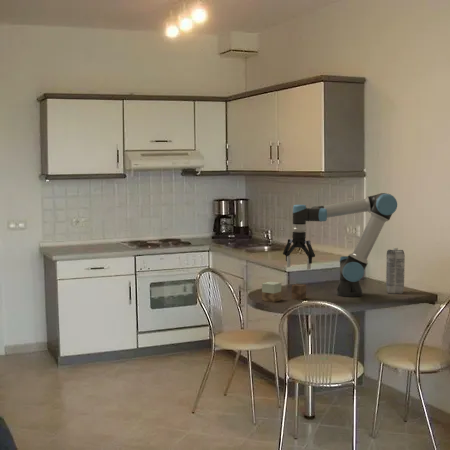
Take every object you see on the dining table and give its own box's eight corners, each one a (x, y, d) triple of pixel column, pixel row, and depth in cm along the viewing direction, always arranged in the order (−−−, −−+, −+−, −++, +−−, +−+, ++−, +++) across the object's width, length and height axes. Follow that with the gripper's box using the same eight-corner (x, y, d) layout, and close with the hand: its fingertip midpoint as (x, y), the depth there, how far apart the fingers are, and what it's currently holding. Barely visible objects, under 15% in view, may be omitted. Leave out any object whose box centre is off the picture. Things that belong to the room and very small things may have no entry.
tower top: (281, 291, 409) (281, 282, 408) (273, 293, 402) (273, 284, 402) (269, 290, 413) (269, 281, 413) (262, 292, 407) (262, 283, 406)
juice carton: (404, 294, 424) (405, 249, 422) (386, 293, 426) (386, 248, 424) (403, 291, 433) (404, 247, 431) (385, 291, 435) (386, 247, 433)
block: (306, 298, 413) (306, 284, 412) (300, 300, 408) (300, 286, 408) (297, 297, 417) (297, 283, 416) (291, 298, 412) (291, 285, 411)
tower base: (281, 300, 409) (281, 291, 409) (273, 302, 403) (273, 293, 402) (269, 298, 414) (269, 290, 413) (262, 300, 407) (262, 292, 407)
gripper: (277, 230, 414) (276, 266, 416) (314, 233, 399) (314, 270, 400) (284, 229, 420) (283, 265, 421) (321, 232, 405) (320, 269, 406)
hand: (298, 268), depth 411 cm, fingers open, 13 cm apart
